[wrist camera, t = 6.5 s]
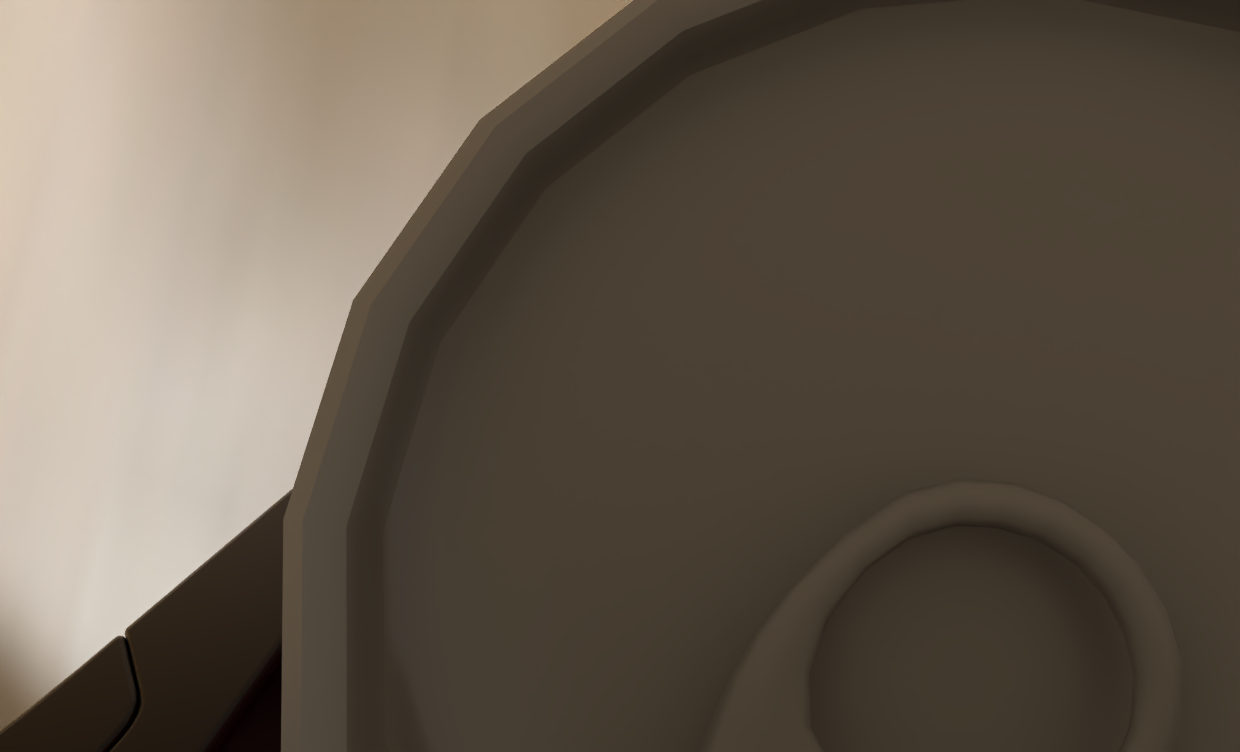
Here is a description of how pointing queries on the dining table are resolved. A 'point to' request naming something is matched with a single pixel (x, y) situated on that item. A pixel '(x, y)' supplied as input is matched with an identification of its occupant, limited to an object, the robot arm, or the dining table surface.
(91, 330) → the dining table surface
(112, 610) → the dining table surface
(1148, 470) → the beer can
